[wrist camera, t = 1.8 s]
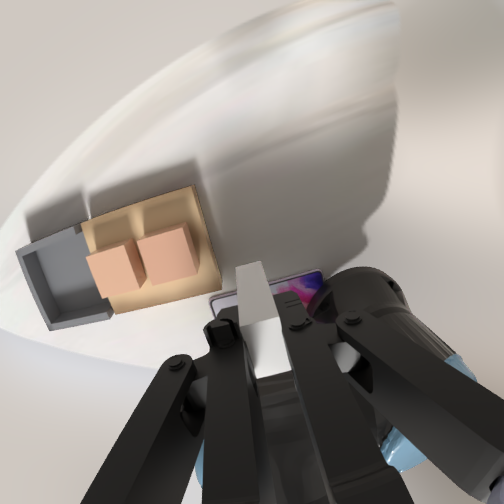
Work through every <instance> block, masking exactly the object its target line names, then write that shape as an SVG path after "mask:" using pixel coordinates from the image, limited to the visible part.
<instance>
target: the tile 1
mask: <svg viewBox="0 0 504 504" xmlns="http://www.w3.org/2000/svg"><path fill="white" fill-rule="evenodd" d="M86 260H87V262H88V265H89V268H90V270H91V273H92V275H93V278H94V280H95V283H96V285H97V287H98V290H99V292H100V295H101V297H102V299H103V298H107V297H111V296H115V295H119V294H123V293H127V292H131V291H135V290H139V289H140V288H141V287H142V285H143V284H144V282H145V281H146V279H147V277H146V275H145V272H144V269H143V266H142V264H141V261H140V258H139V255H138V252H137V250H136V247H135V244H134V241H133V238H130V239H127V240H124V241H121V242H118V243H115V244H111V245H108V246H105V247H102V248H99V249H96V250H95V251H93V252H92V253H91V254H89V255H88V256H86Z"/></svg>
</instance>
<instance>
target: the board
mask: <svg viewBox="0 0 504 504" xmlns="http://www.w3.org/2000/svg"><path fill="white" fill-rule="evenodd" d="M184 222H187V225H188V228H189V231H190V235H191V238H192V241H193V244H194V248H195V251H196V254H197V257H198V260H199V264H200V266H199V270H198V274H197V275H194V276H190V277H186V278H182V279H178V280H174V281H170V282H166V283H162V284H158V285H154V286H152V283H151V281H150V278H149V275H148V273H147V270H146V267H145V264H144V262H143V259H142V256H141V253H140V250H139V247H138V244H137V240H138V239H139V238H141V237H142V236H143V235H144V234H147V233H150V232H153V231H157V230H160V229H164V228H167V227H170V226H174V225H177V224H181V223H184ZM81 227H82V230H83V233H84V236H85V239H86V242H87V245H88V248H89V251H90V253H92V252H93V251H95V250H96V249H99V248H102V247H105V246H108V245H111V244H115V243H118V242H121V241H124V240H127V239H130V238H133V241H134V244H135V247H136V250H137V252H138V255H139V258H140V261H141V264H142V266H143V269H144V272H145V275H146V277H147V279H146V281H145V282H144V284H143V285H142V287H141V288H140V289H139V290H135V291H131V292H127V293H123V294H119V295H115V296H111V297H108V299H109V301H110V303H111V306H112V308H113V310H114V312H115V315H116V314H121V313H126V312H130V311H134V310H139V309H143V308H148V307H152V306H156V305H161V304H165V303H169V302H173V301H178V300H182V299H186V298H190V297H194V296H198V295H202V294H207V293H211V292H215V291H219V290H222V278H221V275H220V271H219V268H218V265H217V261H216V258H215V255H214V251H213V248H212V245H211V241H210V238H209V234H208V231H207V227H206V224H205V220H204V217H203V213H202V210H201V206H200V203H199V199H198V196H197V192H196V188H195V185H191V186H188V187H185V188H181V189H178V190H175V191H171V192H168V193H165V194H162V195H158V196H155V197H152V198H149V199H146V200H143V201H140V202H137V203H134V204H131V205H128V206H125V207H122V208H119V209H117V210H114V211H111V212H108V213H105V214H103V215H100V216H97V217H94V218H92V219H89V220H87V221H85V222H83V223H81Z"/></svg>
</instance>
